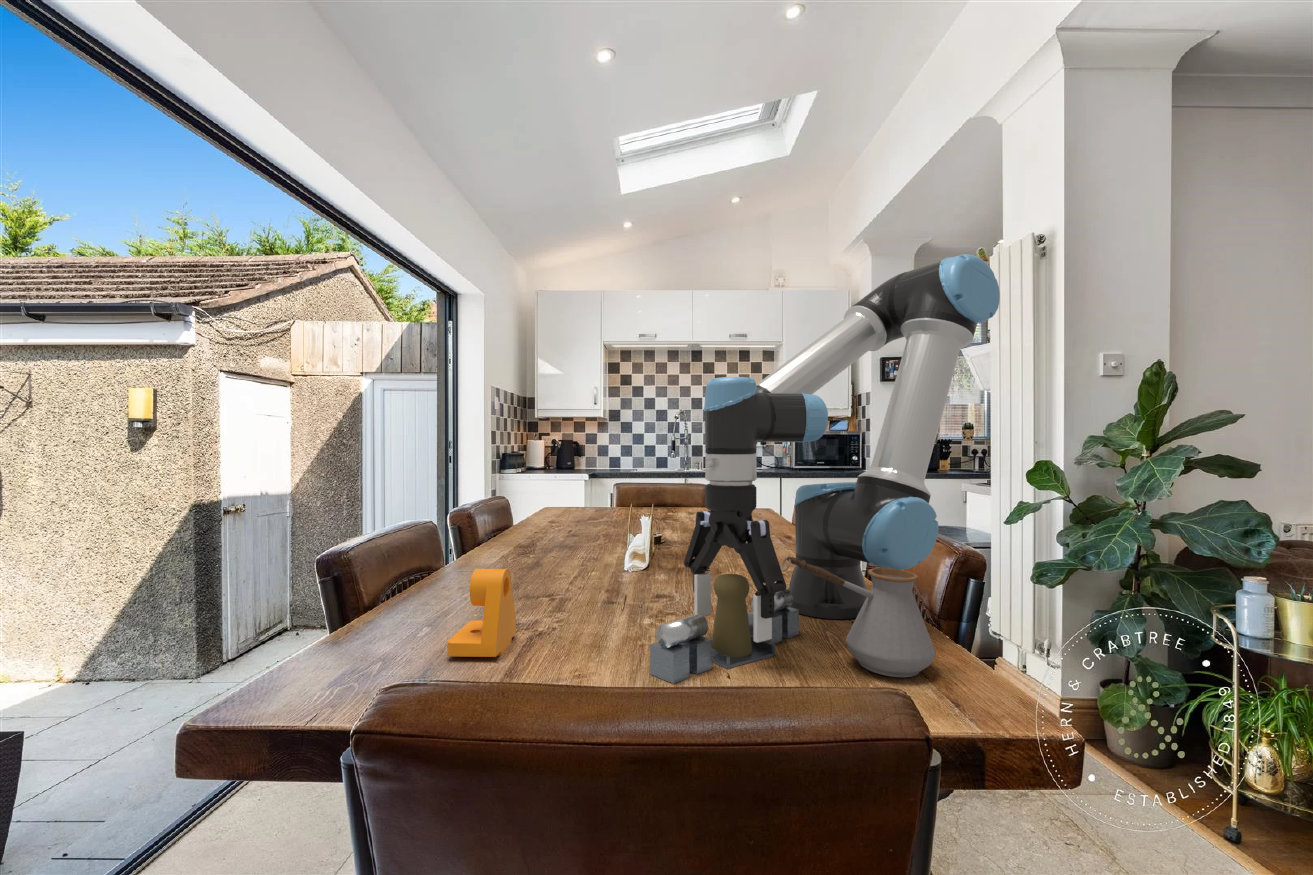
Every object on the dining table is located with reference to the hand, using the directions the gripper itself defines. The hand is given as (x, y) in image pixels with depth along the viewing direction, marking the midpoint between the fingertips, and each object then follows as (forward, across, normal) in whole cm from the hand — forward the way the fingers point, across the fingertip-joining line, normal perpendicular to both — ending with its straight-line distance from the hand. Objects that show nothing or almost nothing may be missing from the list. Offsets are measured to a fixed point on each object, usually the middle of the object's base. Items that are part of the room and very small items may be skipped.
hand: (730, 627), depth 90 cm
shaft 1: (+4, +2, -10) cm, 11 cm away
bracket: (+4, -22, -30) cm, 37 cm away
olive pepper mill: (+3, 0, 0) cm, 3 cm away
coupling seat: (+4, 0, 0) cm, 4 cm away
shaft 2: (+4, -2, +10) cm, 11 cm away
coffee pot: (+3, +14, +10) cm, 18 cm away
